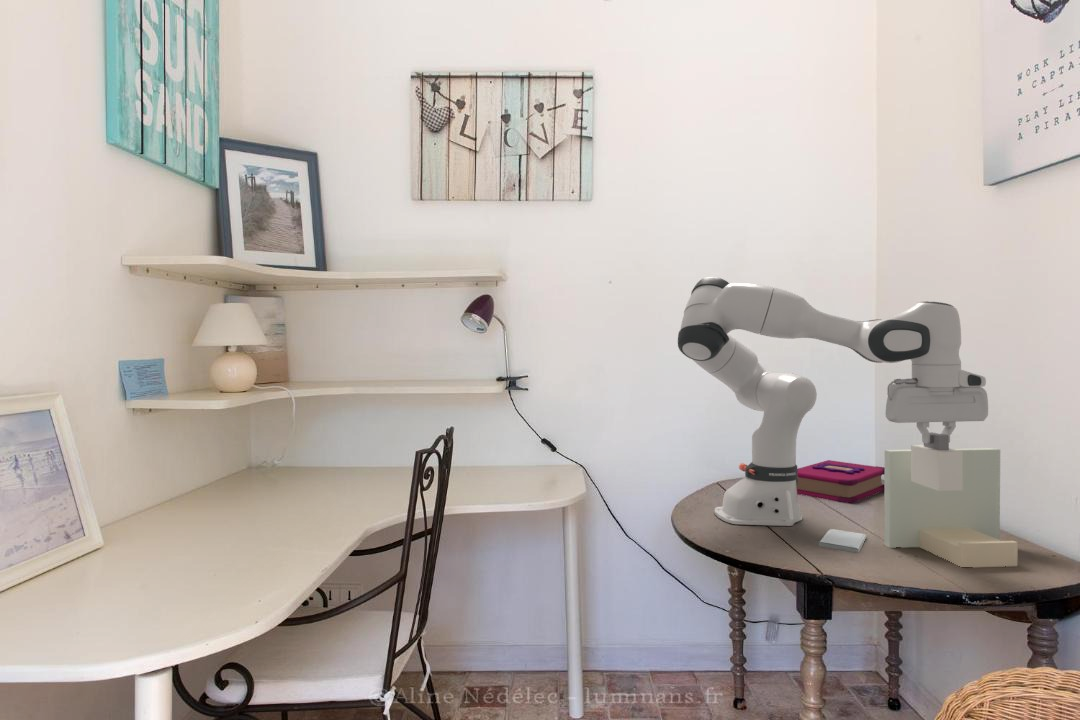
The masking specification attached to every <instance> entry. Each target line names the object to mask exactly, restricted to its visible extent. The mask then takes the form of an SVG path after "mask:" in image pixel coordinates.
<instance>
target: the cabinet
mask: <svg viewBox="0 0 1080 720" xmlns="http://www.w3.org/2000/svg"><path fill="white" fill-rule="evenodd" d="M929 433H930V435H934V439H933V440H934V443H929V444H927V443H923V444H910V449H911V481H912V482H915V483H918V484H921V485H923V486H926V487H929V488H932V489H935V490H938V491H957V490H963V452H962V451H958V450H954V449H955V448H950V447H949V446H950V443H949V436H947V435H942V434H941V433H936V432H930V431H929Z"/></svg>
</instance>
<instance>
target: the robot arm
mask: <svg viewBox="0 0 1080 720" xmlns="http://www.w3.org/2000/svg"><path fill="white" fill-rule="evenodd" d="M690 294H691V295H690V297H689V299H688V301H687V304H686V306H685V309H684V311H683V316H682V321H681V325H680V329H679V331H678V334H677V347H678V350H679V351H680V353H682V354H683V355H684V356H685V357H686V358H689V360H690V359H691V360H692V361H693V362H694V363H696V365H698V366H699V367H700V368H701V369H703V370H705V371H706V372H707V373H708V374H710V375H711V376H712V377H714V378H716V379H717V380H718V381H720V382H722V384H724V385H725V386H727V387H728V388H729V389H731V391H732V392H733V393H734V395H735V398H736V400H737V401H738V402H739V403H740V404H741V405H743V406H744V407H747V408H749V409H751V410H753V411H758V412H763V416H762V420H761V423H760V426H759V427H758V428H757V429H756V430H755V431H754V432H753V434H752V436H751V462H750V463H749V464H748V465H747V464H745V463H744V462H741V463H739V465H738V469H739V470H740V471H742V472H745V473H744V474H745V476H744V477H742V478H741V479H740V480H738V481H737V482H736V483H734V484H733V485H732V486H730V487H729V488H727V489H726V491H725V492H724V494H723V498H722V506H716V507H715V508H714V512H713V513H714V515H715V516H716V517H717V518H719V519H720V520H722V521H723V522H726V523H729V524H731V525H747V526H748V525H749V526H750V525H751V526H753V525H754V526H779V527H780V526H781V527H785V526H787V527H790V526H791V527H792V526H794V525H795V523H798V522H800V521H802V520H803V514H802V511H801V508H800V504H799V503H800V502H799V498H798V494H797V486H796V485H797V482H798V470H797V469H798V465H797V464H796V462H797V461H796V459H797V458H796V457H797V456H796V455H797V439H798V438H797V436H798V431H799V428H800V425H801V423H802V421H803V419H804V418H805V416H806V414H808V412H810V411H812V409H813V408H814V406H815V404H816V402H817V390H816V386H815V384H814V383H813V381H812V380H810V379H809V378H808V377H804V376H802V375H799V374H797V373H793V372H792V373H791V372H778V371H773V370H769V369H767V368H765V367H763V366H762V365H761V364H760V363H759V359H758V355H757V354H756V353H755V352H754V351H753V350H751V349H750V348H748V347H747V346H745V344H742V342H740V341H739V340H737V339H736V338H734V337H733V336H732V335H730V334H729V333H730V332H732V331H734V330H742V331H746V332H749V333H753V334H757V335H761V336H766V337H770V338H778V339H788V340H789V339H791V340H792V339H794V340H795V339H816V340H819V341H823V342H827V343H830V344H833V345H834V344H835V345H837V346H838V345H839V346H842V347H845V348H848V349H851V350H853V352H855V353H856V354H858V355H859V356H860V357H861V358H863V359H865V360H867V361H869V362H872V363H876V364H877V363H878V364H881V363H887V364H895V363H900V362H903V361H908V360H910V361H911V378H895V379H894V380H893V381H891V382H890V383H888V384H887V388H886V389H887V390H886V391H887V393H886V395H887V397H886V398H887V399H886V405H885V418H886V419H887V421H889V422H890V423H891V422H892V423H895V424H896V423H897V424H902V423H903V424H905V423H906V424H907V423H908V424H909V423H916V428H917V429H918V431H919V433H920V434H921V441H922V443H923V444H924V443H927V444H929V443H934V440H933V439H934V435H930V431H929V430H928V428H930V423H942V426H943V427H944V428H943V430H942V432H941V433H940V434H942V435H947V436H949V444H950V442H951V435H952V434H953V432H954V430H955V429H956V424H957V423H958V422H984V421H986V419H987V418H988V415H989V399H988V393H987V391H986V390H985V388H983V387H985V386H986V384H987V379H986V377H985V376H983V375H980V374H977V373H973V372H970V371H967V370H963V369H962V361H961V358H960V348H961V345H962V328H961V319H960V314H959V311H958V309H957V308H956V307H955V306H953V305H952V304H949V303H945V302H940V301H928V300H927V301H920V302H919V301H918V302H917V303H915V304H914V305H913V306H911V307H909V308H908V309H906V310H903V311H902V312H899V313H897V314H895V315H892V316H889V317H887V318H883V319H882V318H880V319H877V318H876V319H871V320H865V321H861V320H860V321H859V320H852V319H848V318H844V317H841V316H836V315H833V314H829V313H826V312H822V311H821V310H818V309H816V308H815V307H813V306H812V305H811V304H810V303H809V302H808V301H807V299H805V298H804V297H802V296H800V295H798V294H796V293H793V292H791V291H787V290H785V289H782V288H778V287H773V286H769V285H764V284H763V285H762V284H758V283H757V284H755V283H749V282H748V283H747V282H728V281H727V280H725V279H724V278H721V277H717V276H706V277H702V278H701V279H700V280H699V281H698V282H697V283H696V284H695V285H694V287H693V288H692V290H691V293H690Z"/></svg>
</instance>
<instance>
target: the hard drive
mask: <svg viewBox="0 0 1080 720" xmlns="http://www.w3.org/2000/svg"><path fill="white" fill-rule="evenodd" d="M865 539H867V534H864V533H860V532H853V531H847V530H840V529H833V528H830V529H828V530H827V531H826V533H825V534H824V535H823V537H822V538H821V540H819V542H818V547H822V548H827V549H834V550H838V551H839V550H840V551H845V552H852V553H855V554H856V553H857V554H859V553H860V551H861V549H862V547H863V545H864V544H865V542H866V540H865ZM864 541H865V542H864Z"/></svg>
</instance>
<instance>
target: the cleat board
mask: <svg viewBox="0 0 1080 720" xmlns="http://www.w3.org/2000/svg"><path fill="white" fill-rule="evenodd" d="M953 449H954V450H958V451H962V452H963V490H957V491H938V490H935V489H932V488H929V487H926V486H923V485H921V484H918V483H915V482H912V481H911V448H910V449H884V467H885V474H884V491H883V493H884V500H883V501H884V504H883V505H884V506H883V507H884V509H883V511H884V516H883V518H884V519H883V521H884V523H883V526H884V527H883V528H884V530H883V532H884V534H883V535H884V536H883V537H884V539H883V542H884V543H883V546H885V545H886V546H885V547H887V548H890V549H894V548H896V547H901V548H921V549H922V550H925V551H927V552H928V551H929V552H928V553H930V552H931V554H933V555H934V556H937V555H938V556H937V557H938V558H941V557H942V558H941V559H943V558H944V559H943V560H945V559H946V560H945V561H947V560H948V561H947V562H949V561H950V562H949V563H951V562H952V563H951V564H953V563H954V564H953V565H955V564H956V565H955V566H957V565H958V566H957V567H959V566H960V567H959V568H961V567H973V568H1000V567H1001V568H1003V567H1005V566H1006V567H1007V568H1008V567H1018V551H1019V550H1018V549H1019V548H1018V541H1016V540H1001V539H1000V536H1001V535H1000V534H1001V533H1000V531H1001V530H1000V529H1001V524H1000V523H1001V521H1000V518H1001V449H1000V448H995V447H976V448H975V447H974V448H973V447H972V448H969V447H968V448H967V447H965V448H953ZM901 548H900V549H901Z"/></svg>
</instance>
